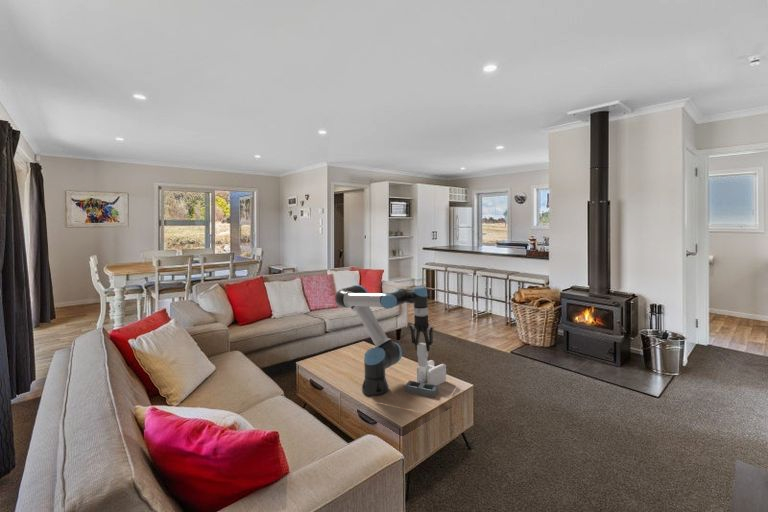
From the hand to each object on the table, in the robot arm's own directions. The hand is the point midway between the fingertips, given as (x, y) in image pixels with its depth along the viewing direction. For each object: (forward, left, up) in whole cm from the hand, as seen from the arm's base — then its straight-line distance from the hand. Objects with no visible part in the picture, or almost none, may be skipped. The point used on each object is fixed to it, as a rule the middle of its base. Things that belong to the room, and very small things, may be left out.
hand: (422, 356), depth 204 cm
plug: (0, 0, -5) cm, 5 cm away
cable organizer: (+1, +13, -22) cm, 26 cm away
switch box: (-1, 0, -21) cm, 21 cm away
